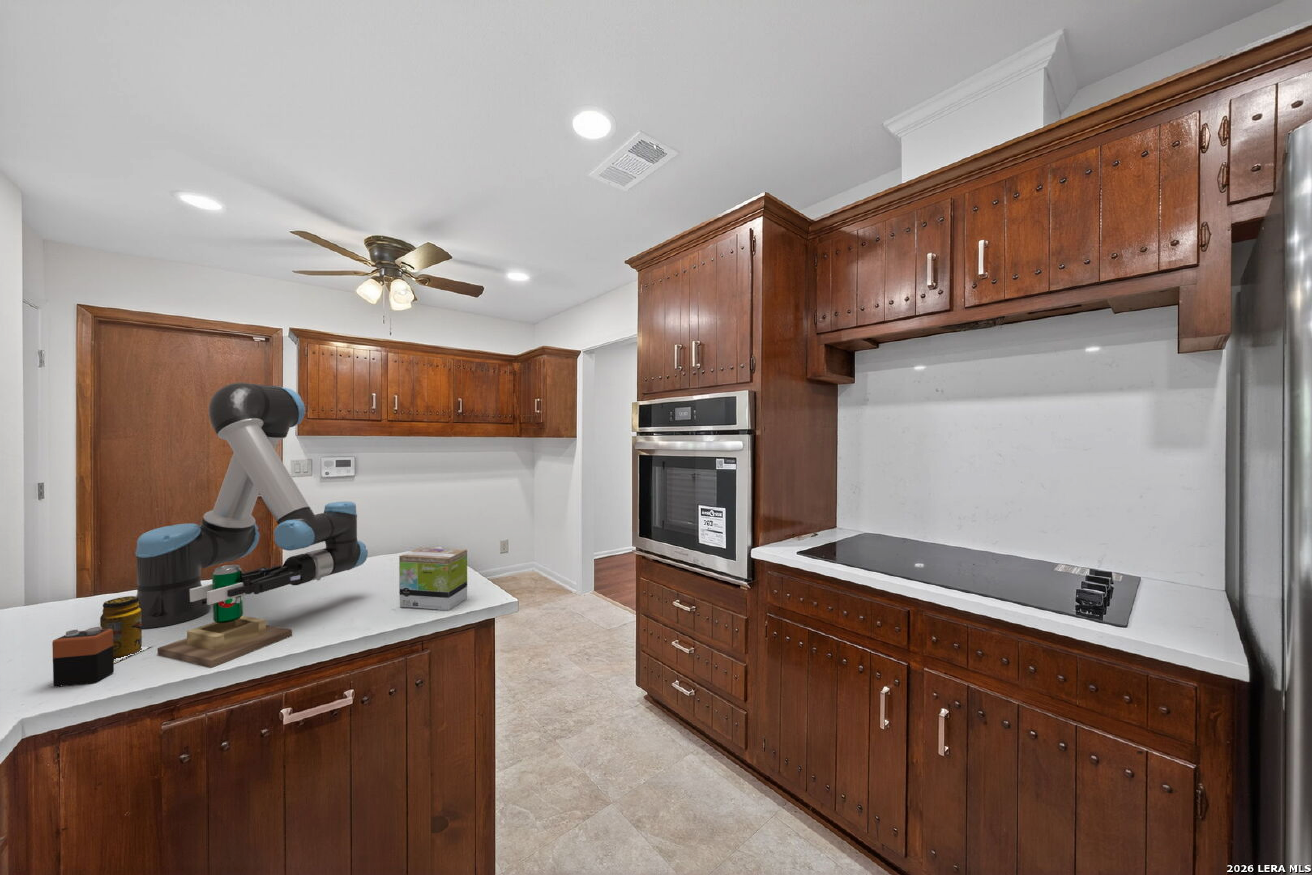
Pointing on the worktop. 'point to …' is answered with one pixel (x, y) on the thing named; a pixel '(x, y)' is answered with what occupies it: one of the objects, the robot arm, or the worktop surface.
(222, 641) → the collar board
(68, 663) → the battery
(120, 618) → the condiment
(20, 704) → the worktop surface
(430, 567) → the tea box
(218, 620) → the soda can
